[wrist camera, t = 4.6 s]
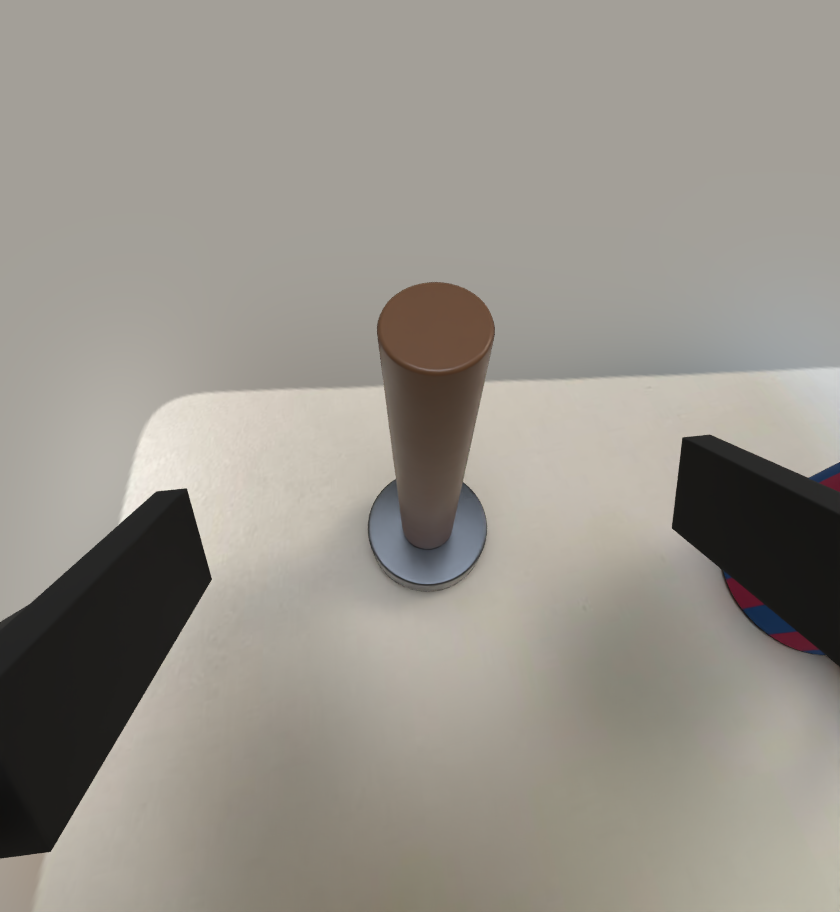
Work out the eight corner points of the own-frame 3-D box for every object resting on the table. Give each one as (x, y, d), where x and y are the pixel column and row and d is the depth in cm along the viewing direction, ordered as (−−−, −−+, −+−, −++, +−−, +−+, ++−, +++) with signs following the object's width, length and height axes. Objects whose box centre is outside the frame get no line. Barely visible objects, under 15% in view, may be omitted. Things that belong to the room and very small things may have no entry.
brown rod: (361, 582, 21) (259, 428, 8) (382, 476, 23) (330, 214, 10) (477, 600, 20) (576, 470, 7) (487, 490, 23) (578, 240, 10)
